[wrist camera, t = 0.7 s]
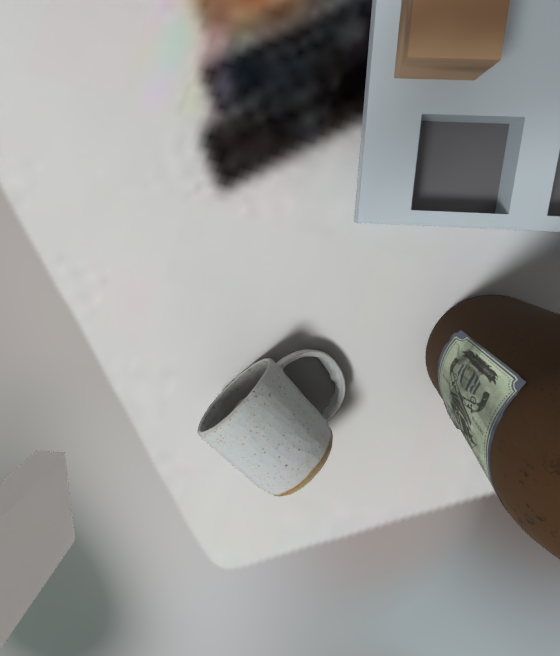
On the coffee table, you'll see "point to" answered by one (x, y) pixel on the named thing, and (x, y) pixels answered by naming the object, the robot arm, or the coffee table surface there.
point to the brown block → (449, 38)
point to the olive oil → (506, 401)
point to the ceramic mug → (273, 425)
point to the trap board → (464, 132)
